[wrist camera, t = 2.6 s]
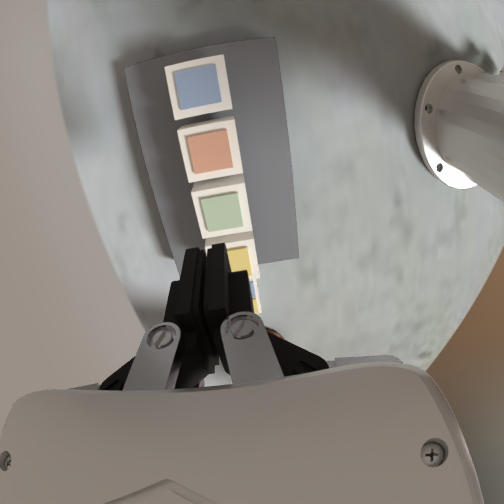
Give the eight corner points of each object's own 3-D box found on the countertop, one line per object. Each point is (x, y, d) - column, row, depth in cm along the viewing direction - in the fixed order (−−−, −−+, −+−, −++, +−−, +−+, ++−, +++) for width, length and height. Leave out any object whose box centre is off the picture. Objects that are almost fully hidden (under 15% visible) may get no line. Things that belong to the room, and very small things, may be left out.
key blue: (175, 70, 16) (163, 66, 13) (224, 60, 16) (223, 53, 13) (184, 114, 17) (174, 120, 14) (232, 105, 17) (232, 109, 14)
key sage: (196, 174, 20) (190, 193, 17) (242, 166, 20) (244, 184, 17) (206, 214, 22) (202, 240, 18) (248, 207, 22) (252, 232, 18)
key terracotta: (186, 122, 18) (176, 131, 15) (233, 113, 18) (234, 119, 15) (195, 166, 20) (188, 184, 16) (240, 158, 19) (243, 174, 16)
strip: (225, 260, 26) (225, 264, 26) (252, 256, 26) (252, 260, 26) (238, 313, 30) (238, 317, 29) (261, 310, 30) (261, 314, 29)
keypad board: (132, 68, 17) (123, 68, 15) (270, 41, 17) (274, 37, 15) (182, 262, 26) (179, 276, 24) (294, 245, 26) (299, 257, 24)
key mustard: (207, 221, 22) (204, 248, 19) (250, 214, 22) (254, 240, 19) (216, 256, 24) (215, 286, 20) (255, 250, 24) (260, 279, 20)
